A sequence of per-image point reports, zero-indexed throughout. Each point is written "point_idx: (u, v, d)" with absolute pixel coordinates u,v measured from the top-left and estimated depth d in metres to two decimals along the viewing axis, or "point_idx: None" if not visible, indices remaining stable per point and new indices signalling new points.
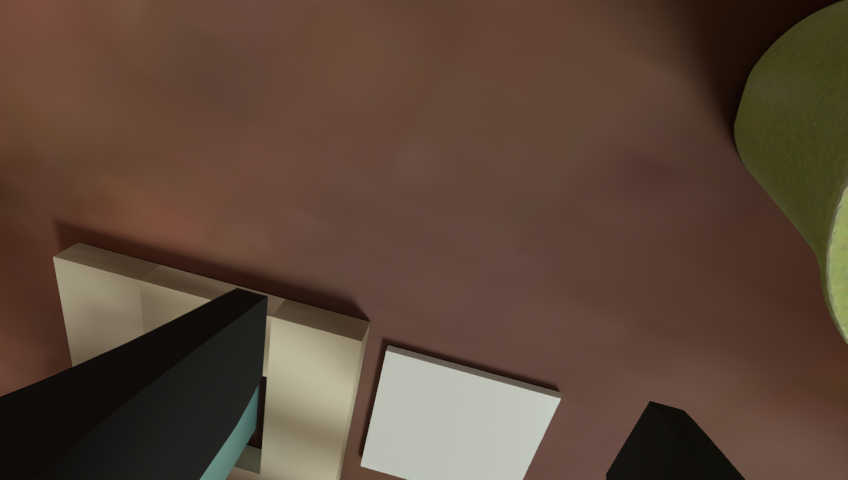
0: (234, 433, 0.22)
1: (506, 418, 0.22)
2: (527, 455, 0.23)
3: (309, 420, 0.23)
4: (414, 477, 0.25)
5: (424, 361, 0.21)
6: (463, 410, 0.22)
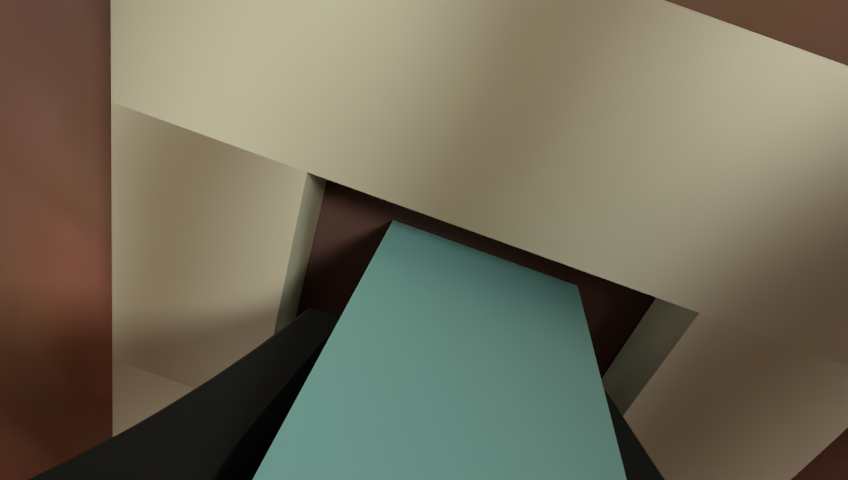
0: (454, 312, 0.08)
1: None
2: None
3: (464, 81, 0.07)
4: None
5: None
6: None
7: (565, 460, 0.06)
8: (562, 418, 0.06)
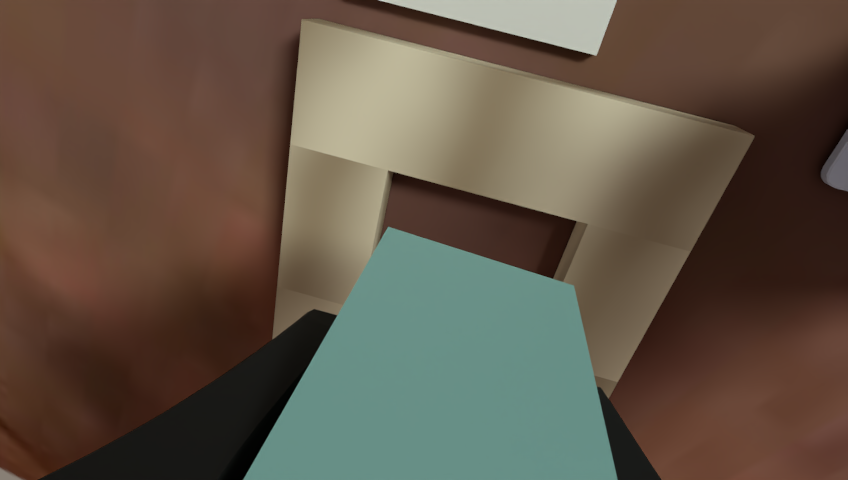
0: (447, 317, 0.08)
1: None
2: None
3: (461, 121, 0.15)
4: None
5: None
6: None
7: (555, 461, 0.06)
8: (552, 418, 0.06)
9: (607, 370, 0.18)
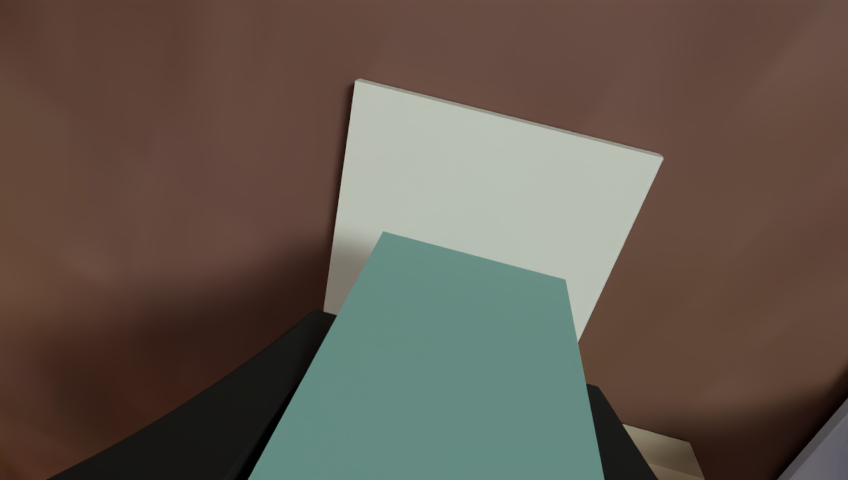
0: (440, 317, 0.08)
1: (415, 168, 0.13)
2: (500, 128, 0.12)
3: None
4: (576, 316, 0.14)
5: (328, 281, 0.15)
6: (409, 233, 0.14)
7: (542, 450, 0.06)
8: (541, 410, 0.07)
9: None
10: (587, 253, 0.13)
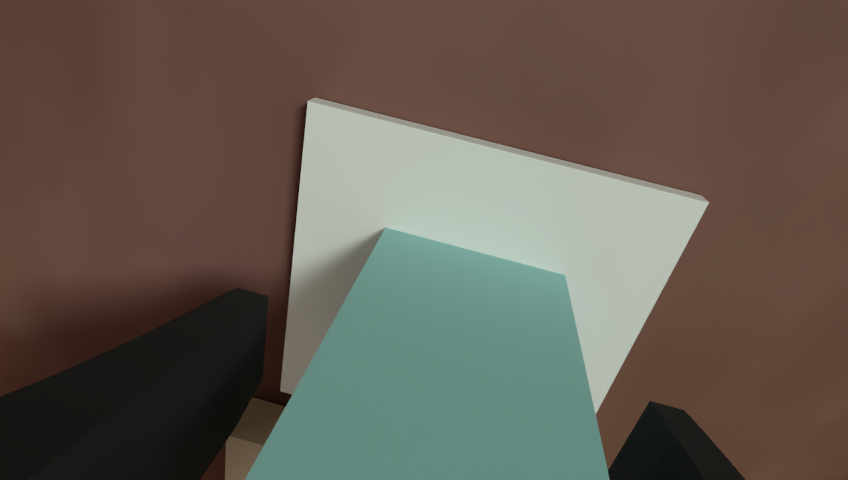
0: (442, 308, 0.08)
1: (388, 212, 0.10)
2: (496, 163, 0.09)
3: None
4: (591, 390, 0.11)
5: (285, 342, 0.12)
6: None
7: (544, 434, 0.06)
8: (542, 396, 0.07)
9: None
10: (606, 318, 0.10)
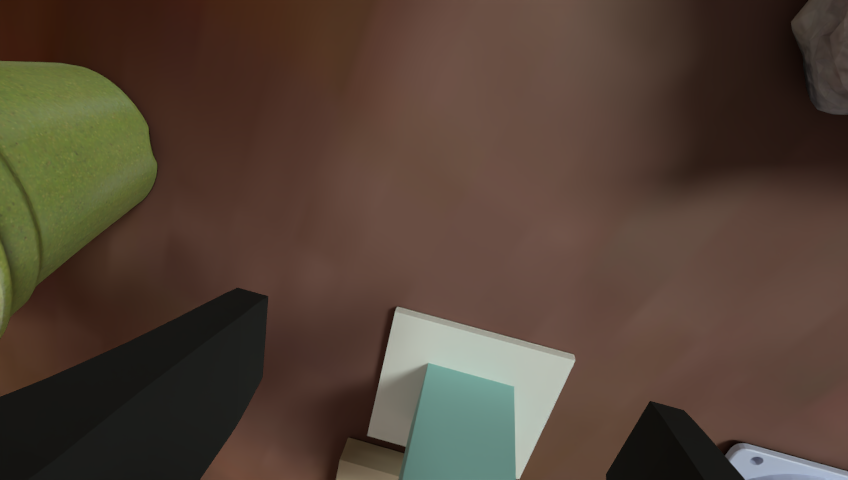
0: (457, 412, 0.19)
1: (430, 356, 0.21)
2: (480, 340, 0.21)
3: None
4: (530, 438, 0.23)
5: (372, 412, 0.23)
6: None
7: (495, 468, 0.17)
8: (496, 453, 0.18)
9: None
10: (534, 405, 0.22)
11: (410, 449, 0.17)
